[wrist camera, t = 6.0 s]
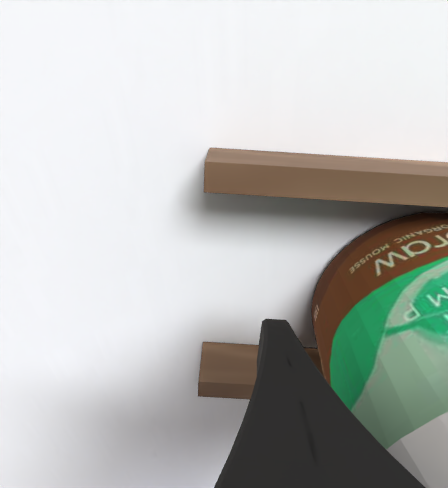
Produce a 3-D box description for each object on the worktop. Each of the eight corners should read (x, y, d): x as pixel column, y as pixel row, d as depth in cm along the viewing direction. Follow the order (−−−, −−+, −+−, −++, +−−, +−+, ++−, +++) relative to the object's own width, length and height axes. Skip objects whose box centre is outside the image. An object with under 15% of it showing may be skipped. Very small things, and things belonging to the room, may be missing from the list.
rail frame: (571, 377, 17) (646, 442, 14) (202, 355, 17) (195, 416, 14) (728, 180, 12) (899, 212, 9) (209, 147, 12) (202, 168, 9)
